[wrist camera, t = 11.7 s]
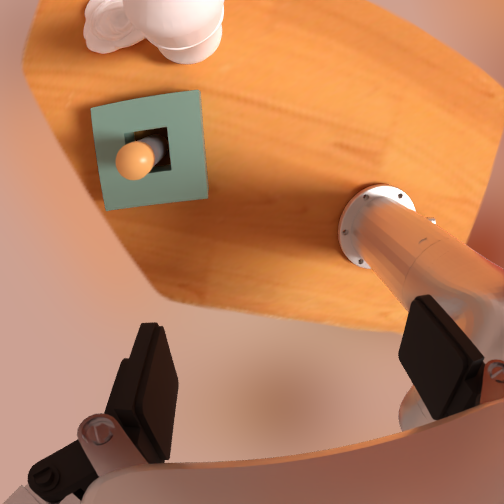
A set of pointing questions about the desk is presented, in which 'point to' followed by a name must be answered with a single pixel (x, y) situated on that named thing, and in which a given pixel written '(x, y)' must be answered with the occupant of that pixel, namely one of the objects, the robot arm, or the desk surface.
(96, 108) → the socket block
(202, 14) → the water bottle
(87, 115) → the desk surface
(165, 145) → the round peg
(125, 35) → the rose
